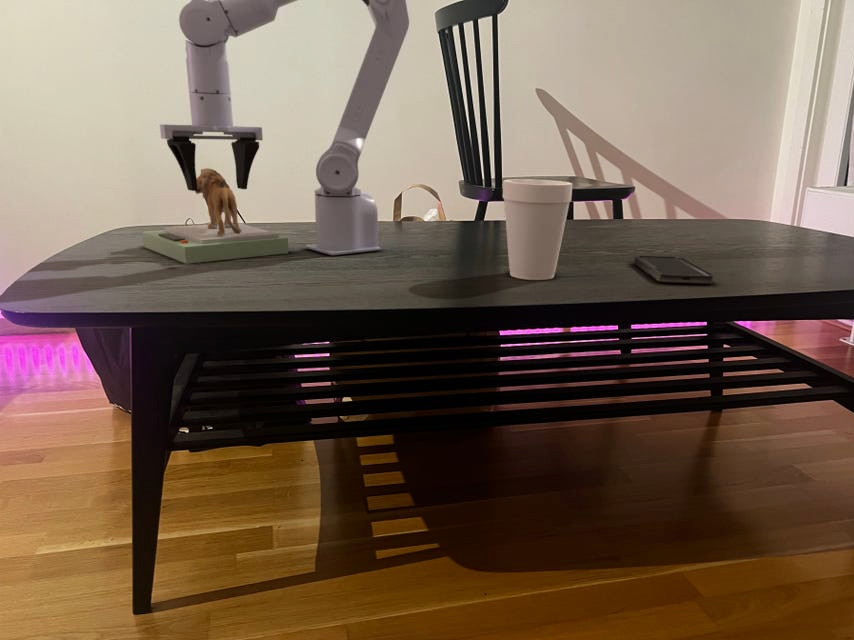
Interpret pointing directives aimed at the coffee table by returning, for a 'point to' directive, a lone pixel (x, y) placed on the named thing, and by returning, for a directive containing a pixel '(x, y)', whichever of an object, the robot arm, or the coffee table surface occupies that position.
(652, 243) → the coffee table surface
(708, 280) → the phone
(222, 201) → the lion figurine
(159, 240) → the kitchen scale
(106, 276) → the coffee table surface
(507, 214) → the foam cup
